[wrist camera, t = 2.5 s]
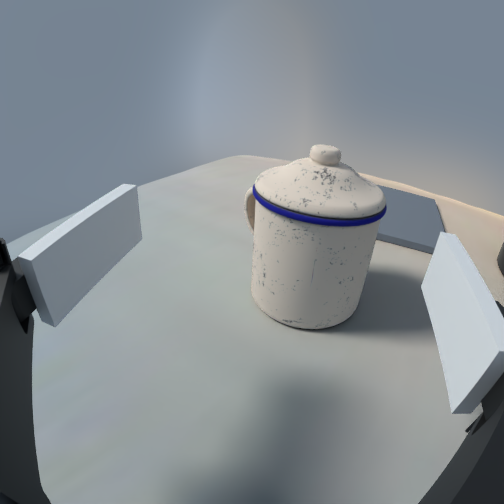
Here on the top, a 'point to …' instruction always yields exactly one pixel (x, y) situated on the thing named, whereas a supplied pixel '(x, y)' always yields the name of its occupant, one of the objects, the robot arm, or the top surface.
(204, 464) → the top surface
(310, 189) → the teacup with lid
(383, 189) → the charcoal mat
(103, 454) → the top surface
